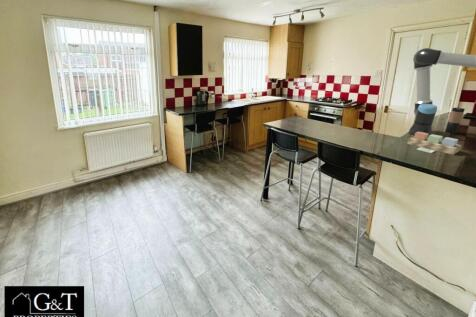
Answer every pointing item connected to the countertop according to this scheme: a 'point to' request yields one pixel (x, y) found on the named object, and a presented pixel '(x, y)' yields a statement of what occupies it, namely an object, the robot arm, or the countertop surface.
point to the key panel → (434, 146)
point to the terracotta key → (421, 136)
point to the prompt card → (426, 150)
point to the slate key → (449, 142)
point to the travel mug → (454, 120)
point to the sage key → (435, 138)
